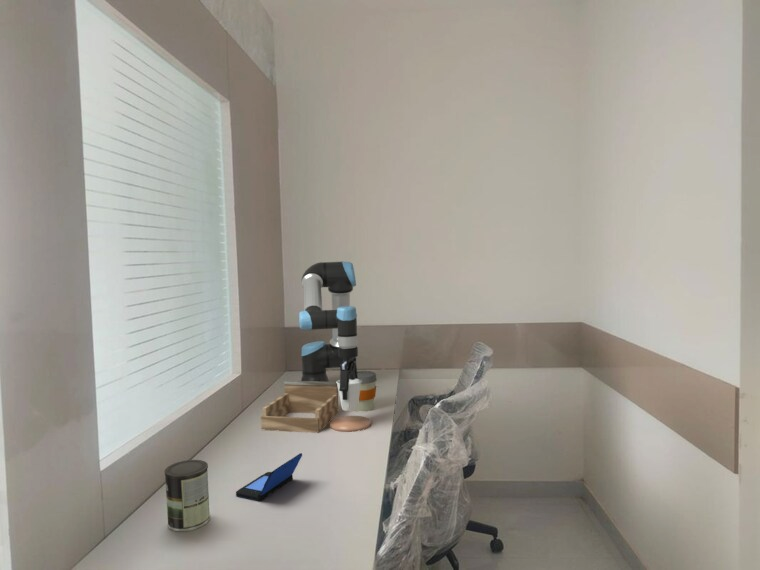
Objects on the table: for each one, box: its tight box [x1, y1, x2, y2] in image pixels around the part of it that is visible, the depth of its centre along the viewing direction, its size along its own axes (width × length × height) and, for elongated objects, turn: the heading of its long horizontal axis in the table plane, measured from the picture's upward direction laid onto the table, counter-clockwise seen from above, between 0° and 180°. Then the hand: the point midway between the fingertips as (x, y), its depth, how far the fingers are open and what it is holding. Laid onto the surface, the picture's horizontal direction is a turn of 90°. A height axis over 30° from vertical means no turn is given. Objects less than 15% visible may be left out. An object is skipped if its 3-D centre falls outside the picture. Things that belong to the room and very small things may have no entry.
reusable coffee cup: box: [354, 370, 377, 412], centre depth 232 cm, size 12×12×15 cm
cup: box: [335, 379, 362, 412], centre depth 210 cm, size 10×10×11 cm
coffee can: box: [164, 459, 211, 533], centre depth 137 cm, size 10×10×14 cm
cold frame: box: [260, 380, 339, 434], centre depth 218 cm, size 25×23×13 cm
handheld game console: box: [235, 452, 303, 502], centre depth 155 cm, size 16×13×9 cm
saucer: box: [329, 415, 372, 433], centre depth 211 cm, size 16×16×1 cm
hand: (349, 404), depth 210 cm, fingers closed on cup, 9 cm apart
